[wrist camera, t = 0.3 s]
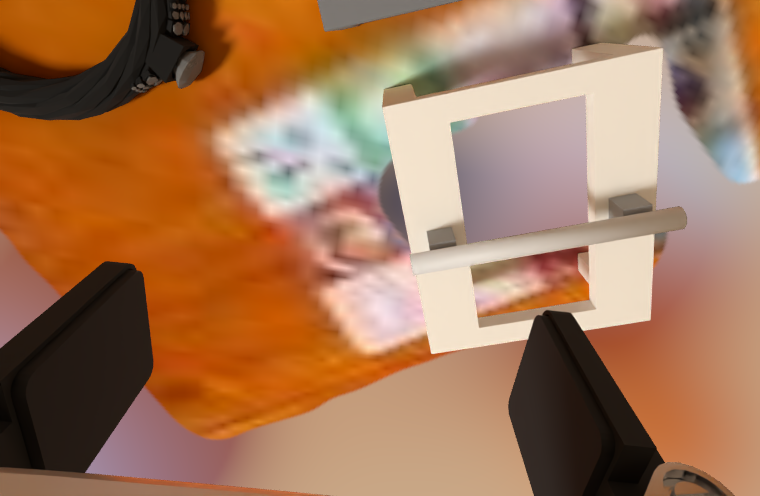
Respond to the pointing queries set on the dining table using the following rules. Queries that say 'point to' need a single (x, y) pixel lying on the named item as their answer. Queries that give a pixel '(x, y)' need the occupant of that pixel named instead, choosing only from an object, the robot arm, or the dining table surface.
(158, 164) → the dining table surface
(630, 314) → the cream frame with rod
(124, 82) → the cable lock
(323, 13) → the grey piece
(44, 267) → the dining table surface
